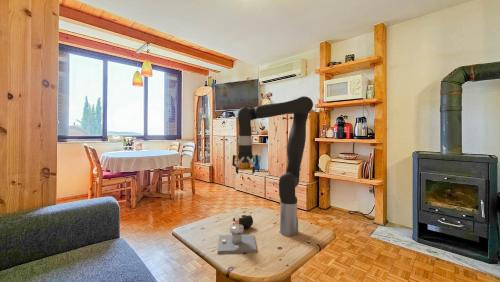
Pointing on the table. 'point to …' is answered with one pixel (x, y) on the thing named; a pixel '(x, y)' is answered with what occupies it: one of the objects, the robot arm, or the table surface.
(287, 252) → the table surface
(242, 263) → the table surface
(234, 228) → the lock knob
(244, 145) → the robot arm
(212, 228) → the table surface
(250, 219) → the end cap
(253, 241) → the base
